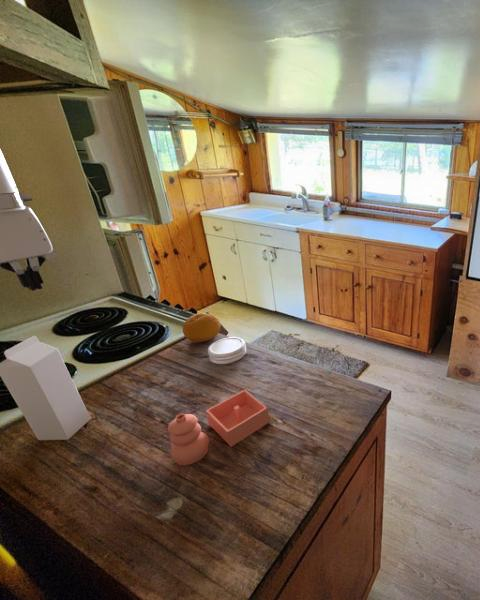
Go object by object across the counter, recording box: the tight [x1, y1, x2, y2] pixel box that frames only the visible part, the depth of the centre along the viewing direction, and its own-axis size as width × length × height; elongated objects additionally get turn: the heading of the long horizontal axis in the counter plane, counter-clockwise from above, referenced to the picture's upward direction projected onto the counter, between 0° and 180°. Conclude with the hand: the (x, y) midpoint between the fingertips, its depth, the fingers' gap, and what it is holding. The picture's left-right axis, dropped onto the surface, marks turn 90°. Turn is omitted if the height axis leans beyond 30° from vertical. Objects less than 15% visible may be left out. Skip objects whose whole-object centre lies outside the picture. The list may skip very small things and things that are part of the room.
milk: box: [0, 335, 92, 441], centre depth 66 cm, size 6×6×22 cm
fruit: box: [182, 312, 222, 343], centre depth 103 cm, size 10×10×8 cm
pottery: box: [167, 389, 271, 466], centre depth 68 cm, size 18×10×10 cm, turn 142°
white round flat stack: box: [207, 336, 248, 365], centre depth 96 cm, size 10×10×4 cm
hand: (34, 288), depth 71 cm, fingers closed
